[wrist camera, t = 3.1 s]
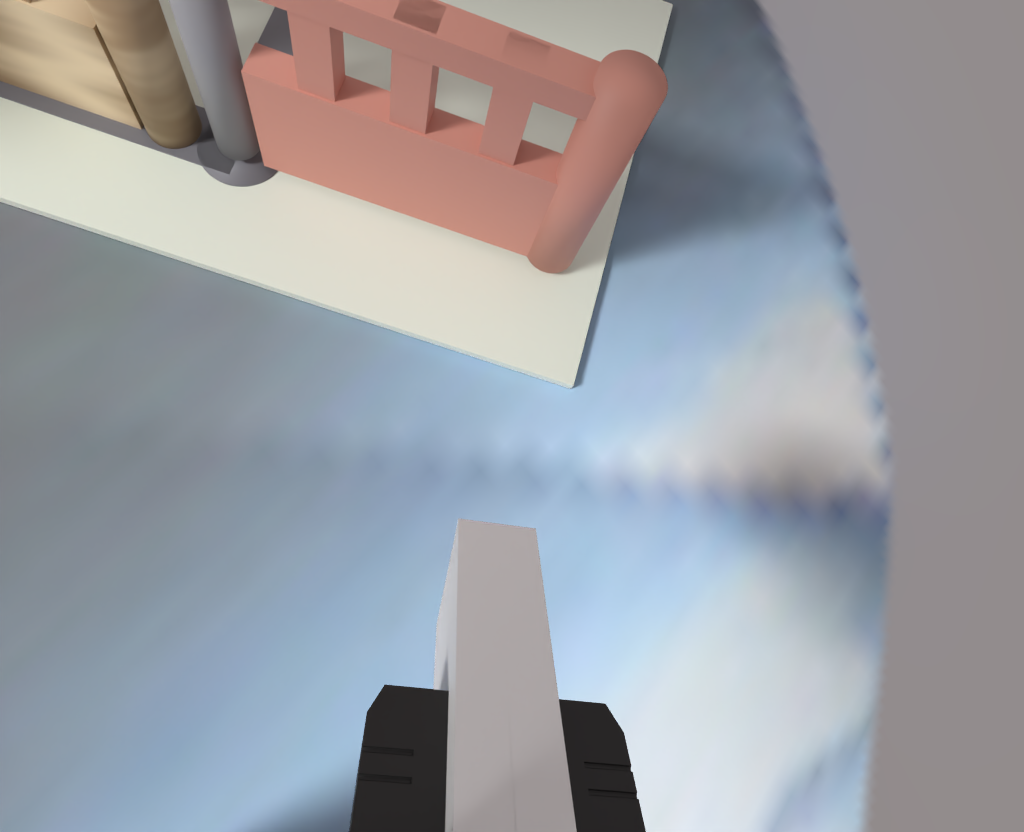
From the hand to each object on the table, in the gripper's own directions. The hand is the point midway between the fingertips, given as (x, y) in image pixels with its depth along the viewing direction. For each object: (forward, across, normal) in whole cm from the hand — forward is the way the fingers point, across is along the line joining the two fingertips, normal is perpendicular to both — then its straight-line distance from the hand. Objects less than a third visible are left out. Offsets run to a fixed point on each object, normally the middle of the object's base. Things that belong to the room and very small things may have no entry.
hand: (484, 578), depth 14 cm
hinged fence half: (+18, -3, +3) cm, 19 cm away
